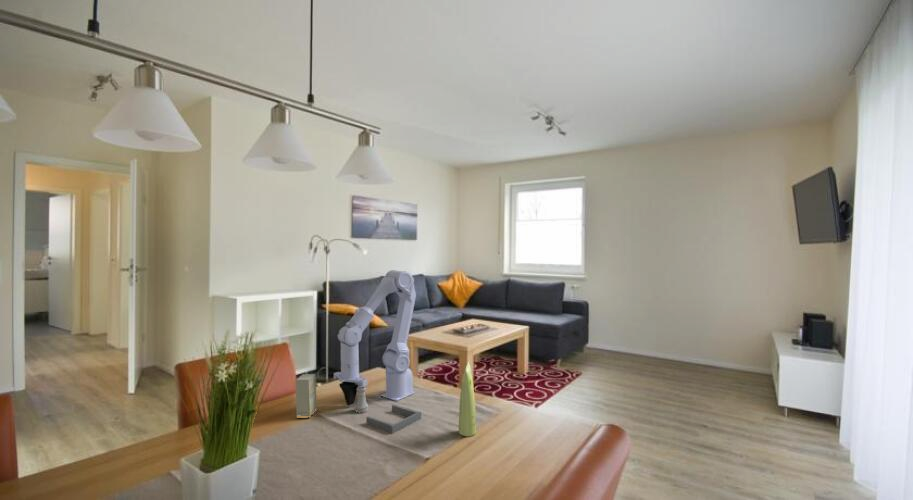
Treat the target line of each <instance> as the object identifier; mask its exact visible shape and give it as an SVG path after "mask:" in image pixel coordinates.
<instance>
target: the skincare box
mask: <svg viewBox="0 0 913 500" xmlns="http://www.w3.org/2000/svg"><path fill="white" fill-rule="evenodd" d="M316 376H317V375H316V373H302V374H301V375H300V376H299V377H297V378H296V379H295V405H296V406H295V407H296V409H295V410H296V416H297V415H301V416H310V415H311V414H312V413H313V412H314V411H315V409H316V408H318V406H317V380H316V379H317V377H316Z"/></svg>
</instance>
